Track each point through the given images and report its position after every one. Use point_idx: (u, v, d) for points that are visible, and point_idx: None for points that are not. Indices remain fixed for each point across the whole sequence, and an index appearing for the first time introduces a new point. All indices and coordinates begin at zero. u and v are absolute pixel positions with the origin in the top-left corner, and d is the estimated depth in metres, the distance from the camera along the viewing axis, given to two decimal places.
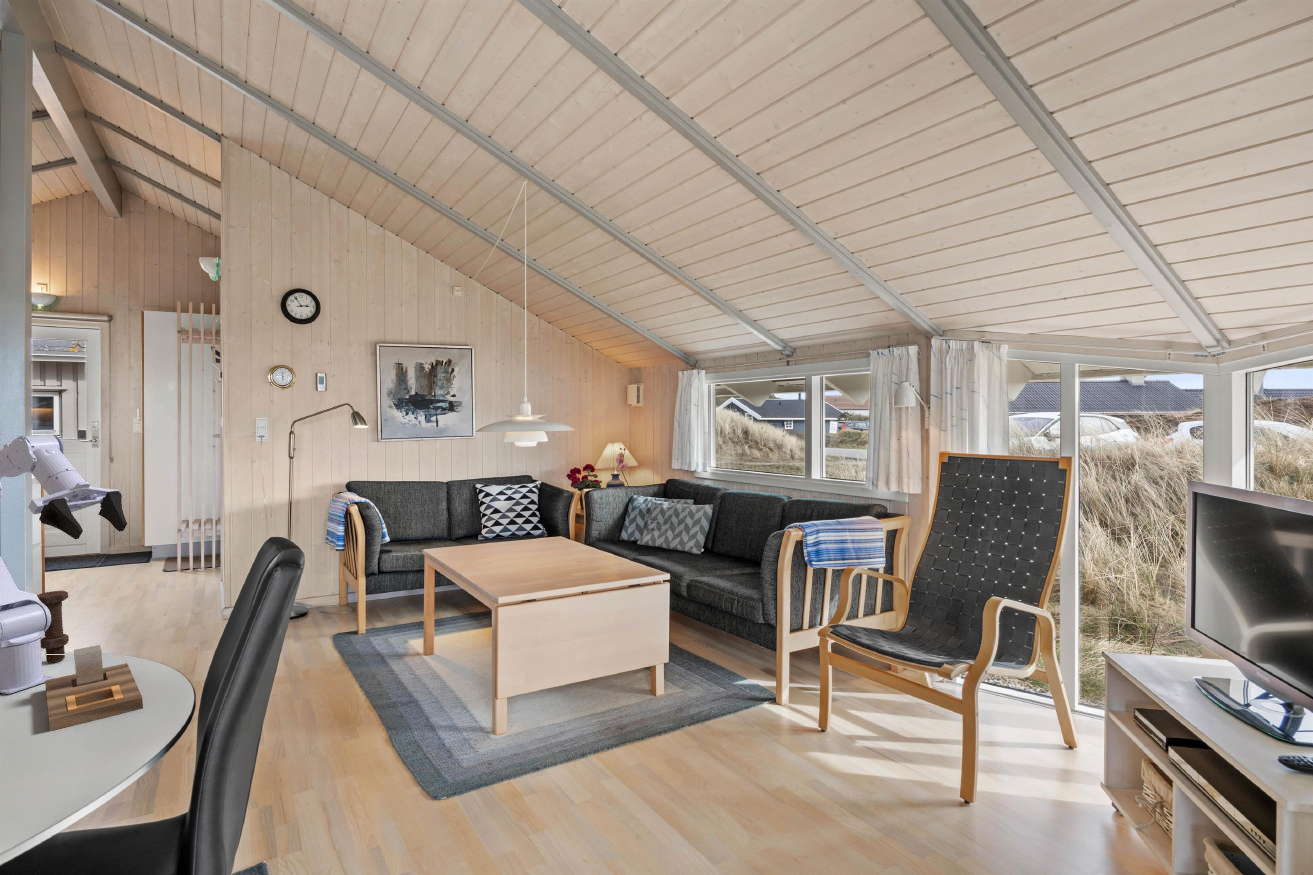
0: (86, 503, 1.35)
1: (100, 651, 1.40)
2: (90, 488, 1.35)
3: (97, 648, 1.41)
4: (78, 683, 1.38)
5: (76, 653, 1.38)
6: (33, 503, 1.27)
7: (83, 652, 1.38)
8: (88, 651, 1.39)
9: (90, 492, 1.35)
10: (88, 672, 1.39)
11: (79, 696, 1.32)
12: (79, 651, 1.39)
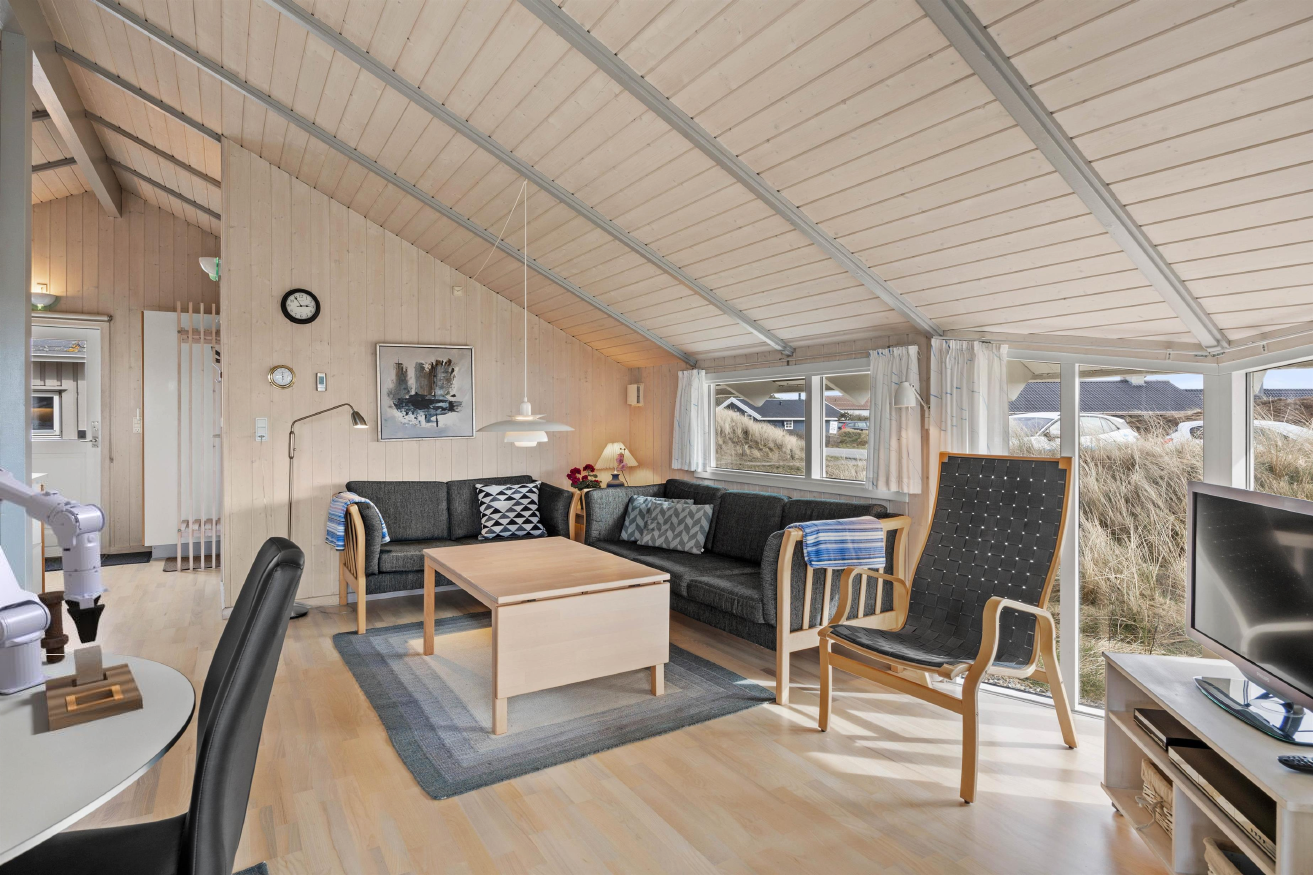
0: None
1: (100, 651, 1.40)
2: None
3: (97, 648, 1.41)
4: (78, 683, 1.38)
5: (76, 653, 1.38)
6: (91, 600, 1.35)
7: (83, 652, 1.38)
8: (88, 651, 1.39)
9: None
10: (88, 672, 1.39)
11: (79, 696, 1.32)
12: (79, 651, 1.39)
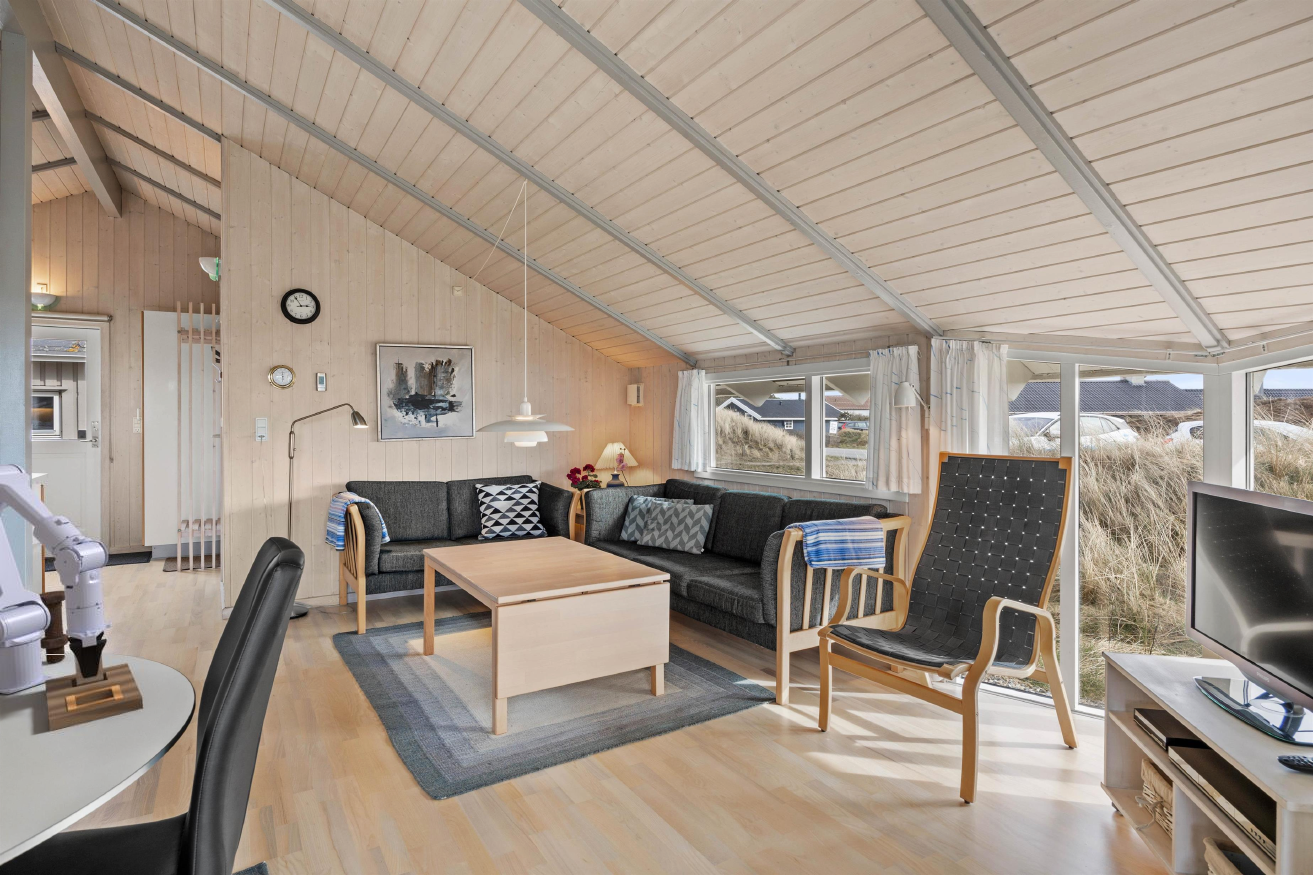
0: None
1: None
2: None
3: None
4: (78, 683, 1.38)
5: None
6: (93, 638, 1.35)
7: None
8: None
9: None
10: None
11: (79, 696, 1.32)
12: None
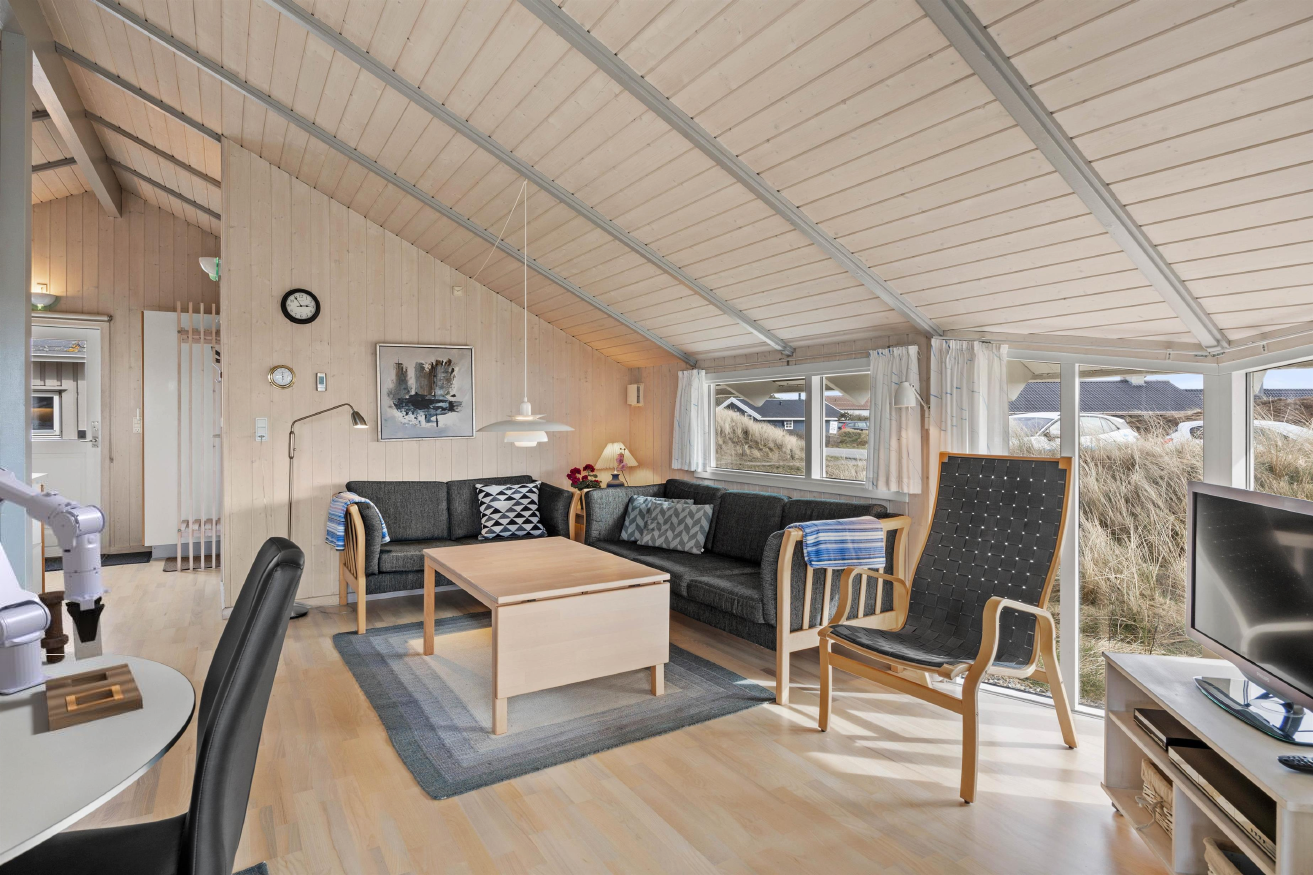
0: None
1: None
2: None
3: None
4: (76, 648, 1.37)
5: None
6: (91, 602, 1.34)
7: None
8: None
9: None
10: None
11: (79, 696, 1.32)
12: None
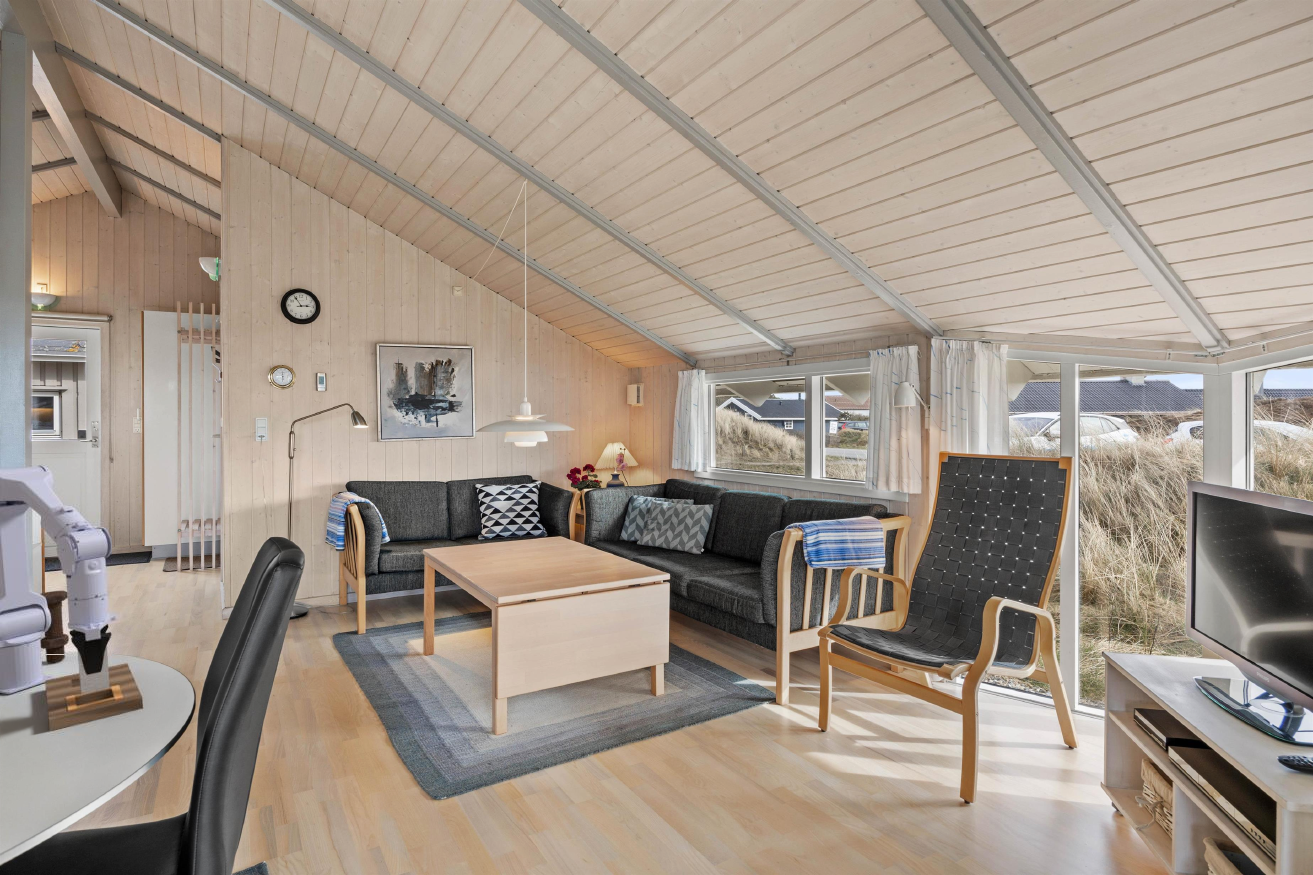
0: None
1: None
2: None
3: None
4: (82, 681, 1.29)
5: None
6: (97, 631, 1.26)
7: None
8: None
9: None
10: None
11: (79, 696, 1.32)
12: None
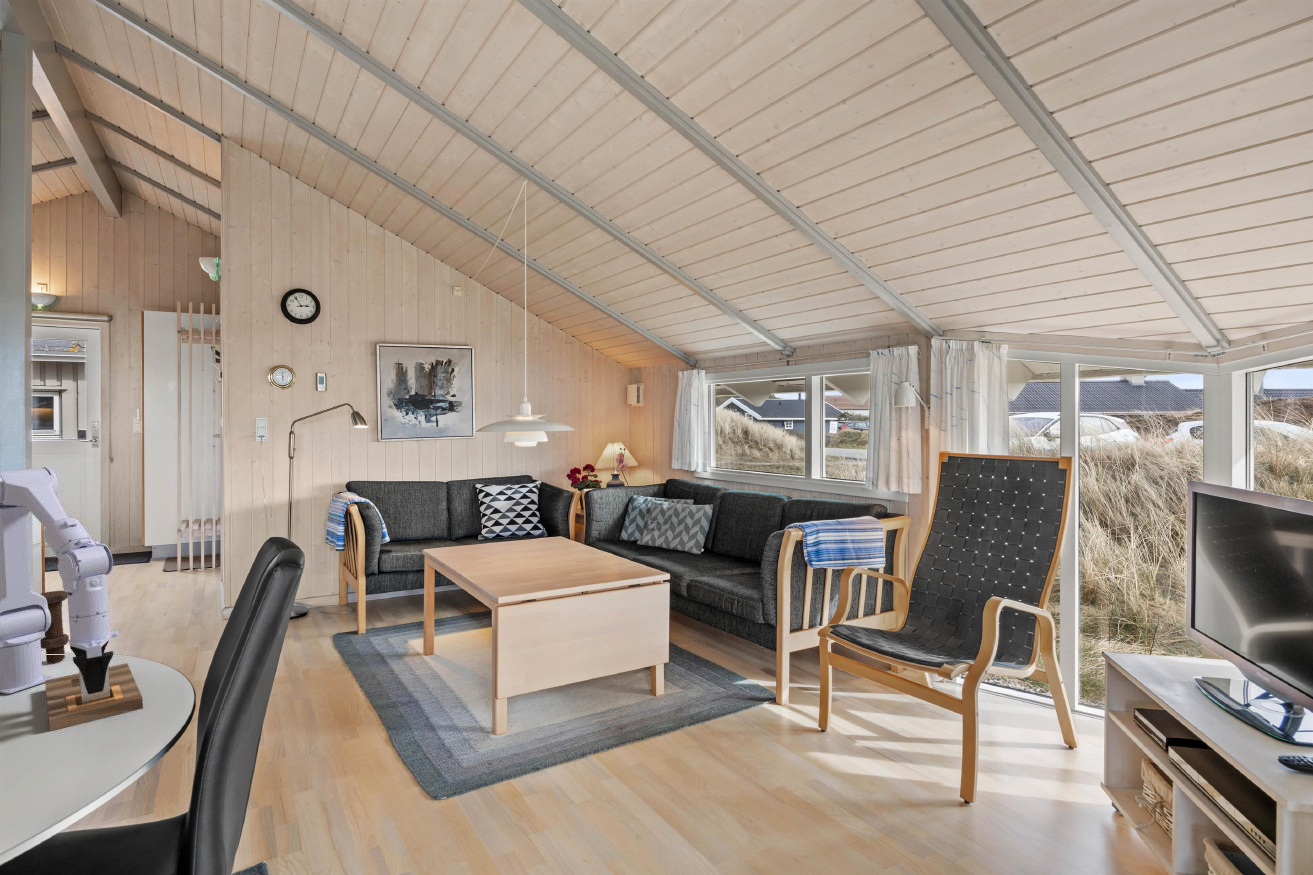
0: None
1: None
2: None
3: None
4: (83, 702, 1.29)
5: None
6: (98, 649, 1.26)
7: None
8: None
9: None
10: None
11: (79, 696, 1.32)
12: None
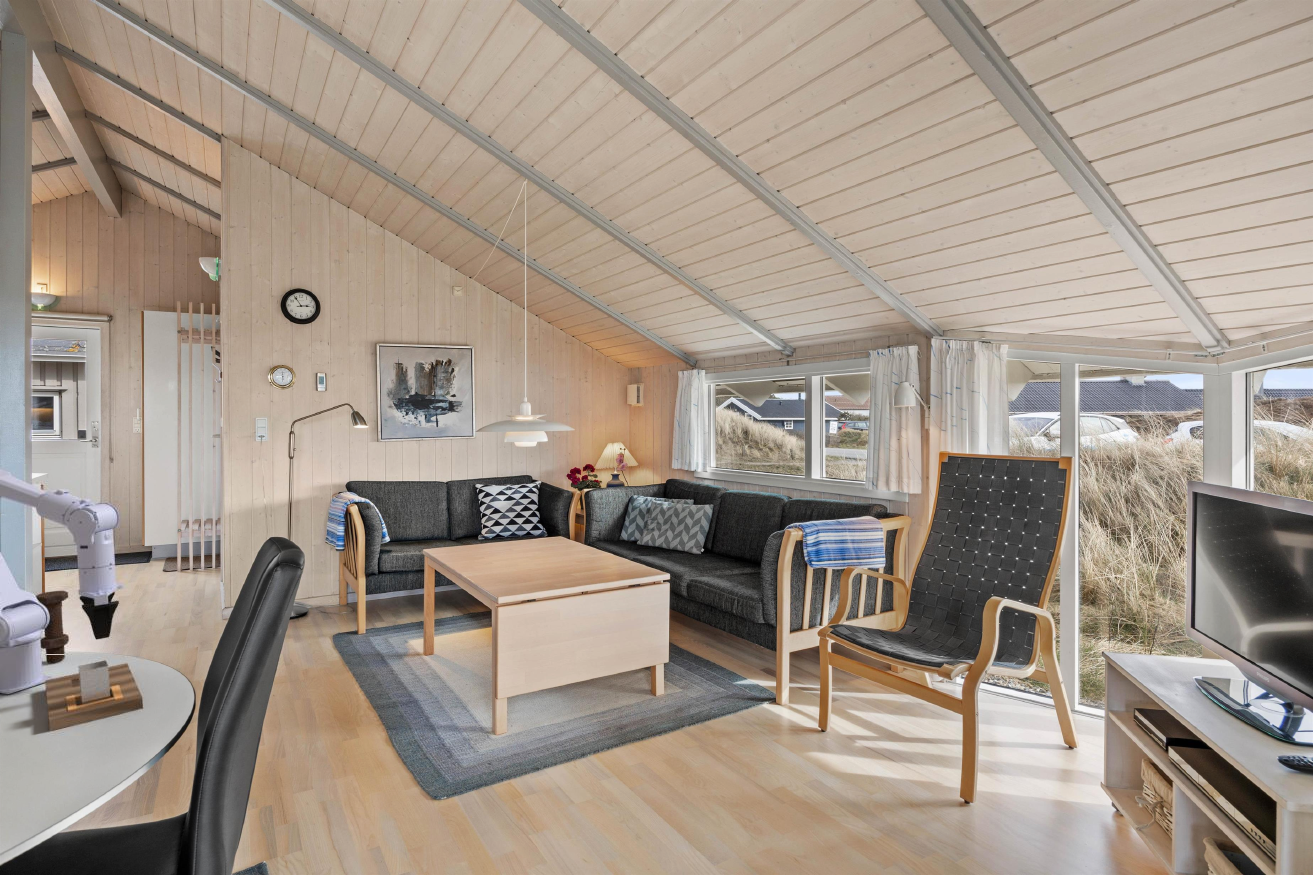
0: None
1: (107, 667, 1.31)
2: None
3: (103, 664, 1.32)
4: (83, 702, 1.29)
5: (81, 670, 1.29)
6: (105, 597, 1.37)
7: (89, 669, 1.30)
8: (94, 667, 1.30)
9: None
10: (94, 690, 1.30)
11: (79, 696, 1.32)
12: (85, 667, 1.31)
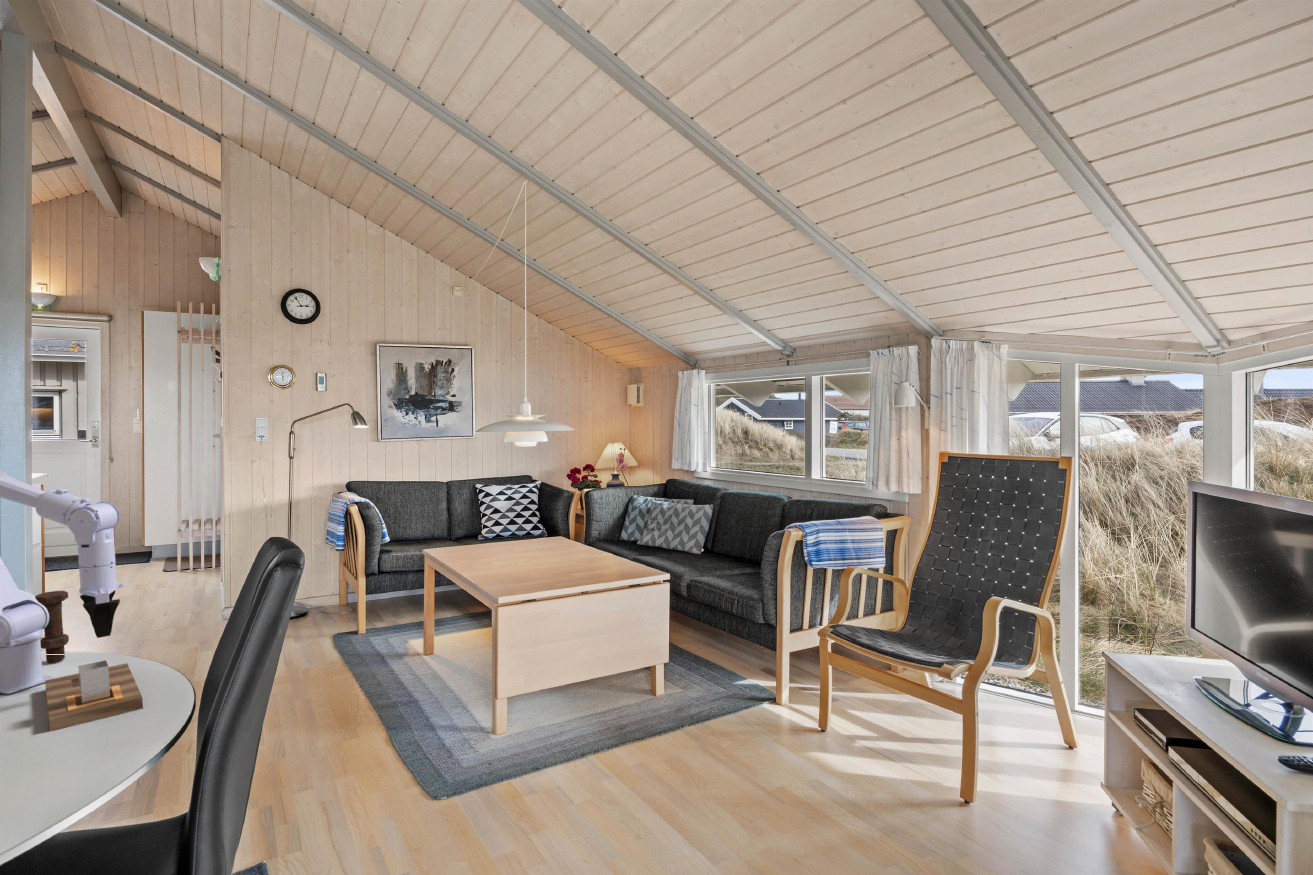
0: None
1: (107, 667, 1.31)
2: None
3: (103, 664, 1.32)
4: (83, 702, 1.29)
5: (81, 670, 1.29)
6: (106, 596, 1.38)
7: (89, 669, 1.30)
8: (94, 667, 1.30)
9: None
10: (94, 690, 1.30)
11: (79, 696, 1.32)
12: (85, 667, 1.31)
